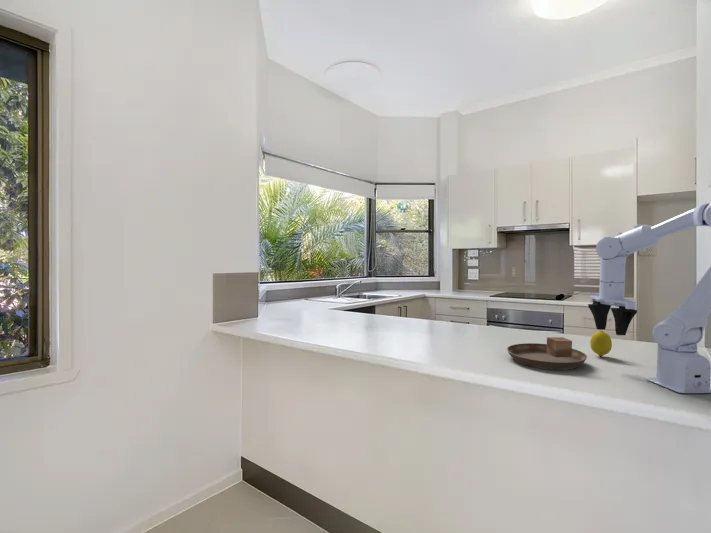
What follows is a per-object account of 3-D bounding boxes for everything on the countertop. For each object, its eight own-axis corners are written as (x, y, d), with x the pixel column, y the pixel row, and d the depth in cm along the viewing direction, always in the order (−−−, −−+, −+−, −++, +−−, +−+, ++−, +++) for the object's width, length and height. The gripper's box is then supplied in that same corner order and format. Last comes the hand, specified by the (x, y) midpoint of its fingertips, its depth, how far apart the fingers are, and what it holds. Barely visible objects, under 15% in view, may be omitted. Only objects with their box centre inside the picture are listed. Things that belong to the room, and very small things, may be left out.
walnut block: (571, 357, 105) (572, 340, 105) (555, 357, 105) (556, 340, 105) (561, 352, 110) (562, 337, 109) (546, 353, 109) (546, 337, 109)
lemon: (614, 359, 114) (615, 332, 114) (594, 358, 115) (594, 331, 115) (606, 354, 120) (607, 329, 119) (586, 353, 121) (587, 328, 120)
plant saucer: (541, 376, 99) (541, 363, 99) (492, 355, 119) (492, 344, 119) (605, 370, 104) (605, 358, 104) (548, 351, 124) (548, 341, 124)
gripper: (580, 280, 111) (579, 327, 112) (617, 284, 97) (615, 337, 97) (604, 280, 112) (602, 327, 112) (644, 284, 97) (642, 337, 98)
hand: (610, 332), depth 105 cm, fingers open, 7 cm apart
